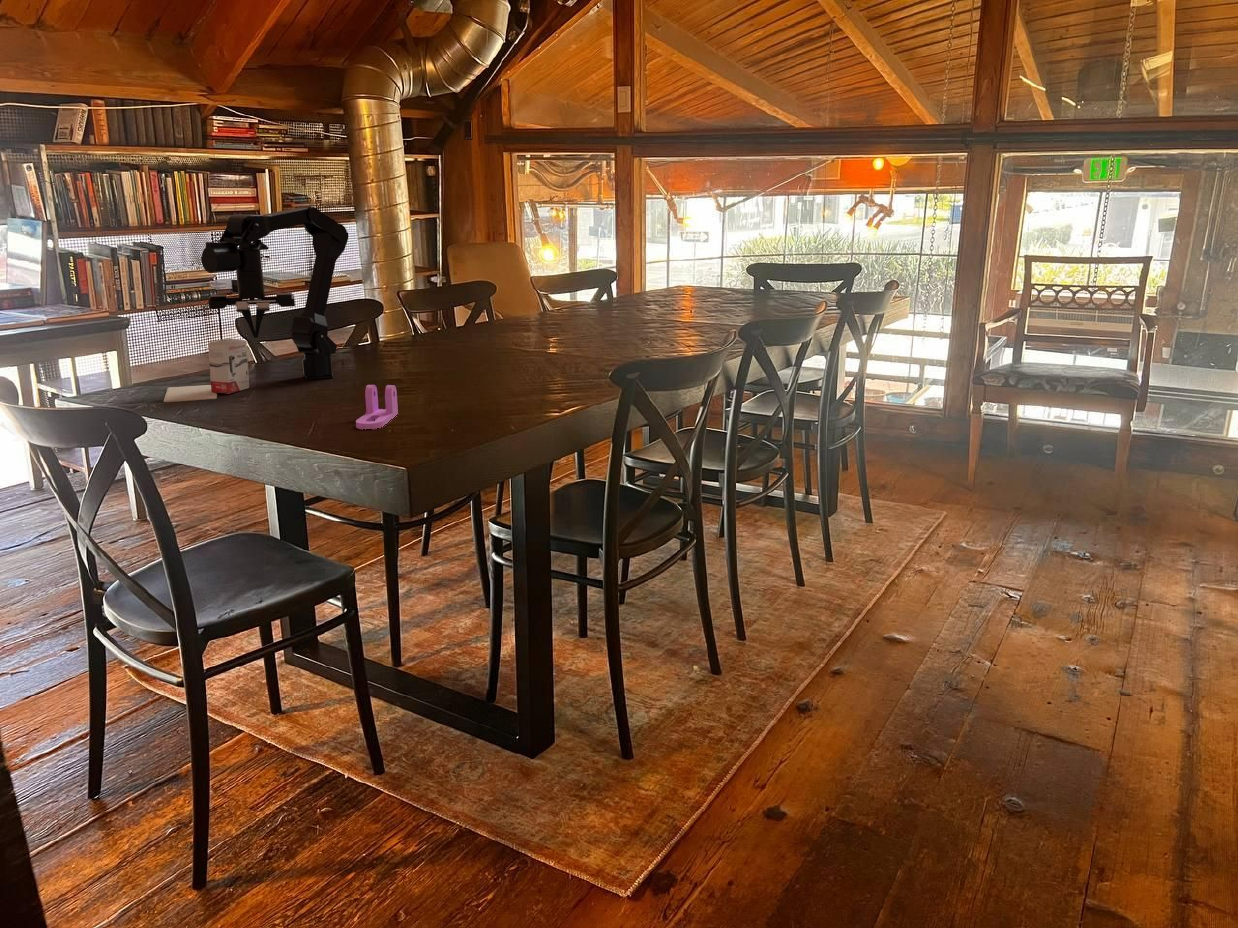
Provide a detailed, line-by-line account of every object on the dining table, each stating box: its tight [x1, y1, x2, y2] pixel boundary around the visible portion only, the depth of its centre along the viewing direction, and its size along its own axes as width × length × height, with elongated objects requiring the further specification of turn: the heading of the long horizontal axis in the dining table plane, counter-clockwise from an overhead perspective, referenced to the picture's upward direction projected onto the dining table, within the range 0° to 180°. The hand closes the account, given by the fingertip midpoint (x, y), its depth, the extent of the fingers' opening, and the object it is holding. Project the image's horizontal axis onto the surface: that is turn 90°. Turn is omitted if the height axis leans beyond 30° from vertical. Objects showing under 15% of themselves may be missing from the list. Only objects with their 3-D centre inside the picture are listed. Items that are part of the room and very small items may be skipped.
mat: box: [163, 384, 218, 403], centre depth 218 cm, size 11×16×1 cm
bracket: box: [355, 384, 399, 431], centre depth 192 cm, size 13×6×7 cm, turn 177°
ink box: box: [207, 338, 250, 395], centre depth 219 cm, size 9×5×12 cm, turn 169°
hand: (256, 337), depth 220 cm, fingers closed
